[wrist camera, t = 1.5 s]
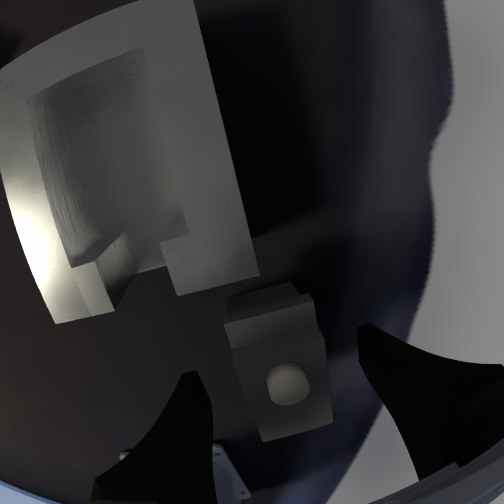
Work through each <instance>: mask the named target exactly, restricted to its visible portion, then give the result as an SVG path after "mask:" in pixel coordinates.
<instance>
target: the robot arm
mask: <svg viewBox="0 0 504 504" xmlns="http://www.w3.org/2000/svg"><path fill="white" fill-rule="evenodd" d="M357 331H358V354H359V363H360V365H361V367H362V369H363V372H364V374H365V376H366V378H367V379H368V381H369V382H370V384H371V385H372V387H373V389H374V390H375V392H376V393H377V394H378V396H379V397H380V399H381V400H382V402H383V403H384V405H385V406H386V408H387V409H388V411H389V413H390V414H391V416H392V418H393V419H394V421H395V423H396V425H397V427H398V430H399V432H400V434H401V436H402V438H403V440H404V443H405V445H406V447H407V450H408V452H409V454H410V457H411V459H412V462H413V465H414V467H415V470H416V473H417V476H418V479H419V482H416V483H414V484H412V485H410V486H408V487H406V488H404V489H402V490H400V491H398V492H395V493H393V494H391V495H388V496H386V497H384V498H381V499H379V500H376V501H374V502H371V503H369V504H489V503H490V502H492V501H493V500H494V499H495V498H497V497H498V496H499V495H500V494H502V493H503V492H504V366H503V365H501V364H478V363H469V362H463V361H458V360H453V359H448V358H444V357H441V356H438V355H434V354H432V353H428V352H426V351H423V350H421V349H418V348H416V347H414V346H412V345H410V344H407V343H405V342H403V341H401V340H399V339H397V338H396V337H394V336H392V335H390V334H388V333H386V332H385V331H383V330H381V329H379V328H377V327H376V326H374V325H372V324H370V323H369V324H366V325H363V326H360V327H357ZM120 459H121V461H119V462H118V463H117V464H116V465H115V466H113V467H112V468H111V469H109V470H108V471H106V472H105V473H103V474H102V475H100V476H99V477H97V478H95V481H94V485H93V489H92V494H91V499H90V504H241V499H247V498H250V497H251V493H250V491H249V490H248V488H247V487H246V485H245V483H244V482H243V480H242V479H241V477H240V475H239V474H238V472H237V470H236V469H235V467H234V465H233V464H232V462H231V460H230V459H229V457H228V455H227V454H226V452H225V450H224V448H223V447H222V446H221V445H220V444H213V415H212V407H211V401H210V399H209V396H208V394H207V392H206V390H205V388H204V386H203V384H202V381H201V379H200V377H199V375H198V373H197V370H196V371H191V372H186V373H183V374H182V376H181V378H180V380H179V382H178V384H177V386H176V388H175V390H174V392H173V394H172V395H171V397H170V399H169V401H168V403H167V404H166V406H165V408H164V410H163V411H162V413H161V414H160V416H159V417H158V419H157V421H156V422H155V424H154V425H153V426H152V428H151V429H150V430H149V432H148V433H147V434H146V436H145V437H144V438H143V439H142V440H141V441H140V442H139V443H138V444H137V445H136V447H135V448H134V449H133V450H132V451H131V452H122V453H120Z"/></svg>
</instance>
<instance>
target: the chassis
mask: <svg viewBox="0 0 504 504" xmlns="http://www.w3.org/2000/svg"><path fill="white" fill-rule="evenodd" d="M0 169H1V174H2V178H3V183H4V187H5V191H6V195H7V198H8V202H9V206H10V209H11V213H12V216H13V219H14V223H15V226H16V229H17V232H18V235H19V238H20V241H21V244H22V246H23V249H24V252H25V255H26V257H27V260H28V263H29V265H30V268H31V270H32V273H33V275H34V278H35V280H36V282H37V285H38V287H39V289H40V292H41V294H42V296H43V298H44V300H45V303H46V305H47V307H48V309H49V311H50V313H51V315H52V317H53V319H54V321H55V323H56V324H58V323H63V322H67V321H72V320H76V319H81V318H86V317H90V316H95V315H99V314H103V313H108V312H112V311H115V310H116V308H117V306H118V304H119V302H120V301H121V299H122V297H123V295H124V294H125V292H126V290H127V288H128V287H129V285H130V283H131V281H132V280H133V278H134V276H135V275H136V273H140V272H144V271H148V270H151V269H155V268H159V267H163V266H167V267H168V270H169V273H170V276H171V279H172V282H173V285H174V287H175V290H176V293H177V296H180V295H184V294H188V293H192V292H196V291H200V290H204V289H208V288H212V287H216V286H220V285H224V284H228V283H232V282H236V281H240V280H244V279H248V278H252V277H256V276H259V275H260V274H259V270H258V266H257V262H256V258H255V254H254V249H253V245H252V241H251V237H250V233H249V229H248V224H247V220H246V216H245V212H244V208H243V204H242V200H241V195H240V191H239V187H238V183H237V179H236V175H235V171H234V166H233V162H232V158H231V154H230V150H229V146H228V142H227V138H226V133H225V129H224V125H223V121H222V117H221V113H220V109H219V105H218V100H217V96H216V92H215V88H214V84H213V80H212V76H211V72H210V68H209V64H208V59H207V55H206V51H205V47H204V43H203V39H202V35H201V31H200V27H199V23H198V19H197V14H196V10H195V6H194V2H193V0H139V1H136V2H133V3H130V4H127V5H125V6H122V7H119V8H116V9H114V10H111V11H109V12H106V13H104V14H101V15H99V16H96V17H94V18H92V19H89V20H87V21H85V22H83V23H80V24H78V25H76V26H74V27H72V28H70V29H68V30H66V31H64V32H62V33H60V34H58V35H56V36H54V37H52V38H50V39H48V40H47V41H45V42H43V43H41V44H40V45H38V46H36V47H34V48H33V49H31V50H29V51H28V52H26V53H24V54H23V55H21V56H20V57H18V58H16V59H15V60H13V61H12V62H10V63H9V64H7V65H6V66H4V67H3V68H1V69H0Z"/></svg>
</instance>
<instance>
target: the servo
mask: <svg viewBox="0 0 504 504" xmlns="http://www.w3.org/2000/svg"><path fill="white" fill-rule="evenodd" d="M227 307H228V315H224V316H223V323H224V327H225V330H226V333H227V336H228V339H229V342H230V345H231V348H232V356H233V363H234V366H235V369H236V372H237V374H238V377H239V380H240V383H241V385H242V388H243V391H244V394H245V396H246V399H247V402H248V404H249V407H250V410H251V412H252V415H253V418H254V420H255V423H256V426H257V428H258V431H259V433H260V436H261V438H262V441H263V442H266V441H270V440H275V439H279V438H283V437H287V436H290V435H294V434H298V433H301V432H305V431H308V430H312V429H315V428H318V427H321V426H325V425H328V424H331V423H333V414H332V403H331V393H330V383H329V374H328V365H327V357H326V349H325V341H324V337H323V335H322V333H321V331H320V330H319V328H318V326H317V320H316V313H315V307H314V300H313V299H312V297H311V296H310V294H309V293H307V294H304V295H299V293H298V292H297V290H296V288H295V286H294V285H293V283H292V281H290V282H286V283H283V284H279V285H275V286H271V287H268V288H264V289H260V290H256V291H252V292H248V293H244V294H241V295H237V296H233V297H229V298H227Z"/></svg>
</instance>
